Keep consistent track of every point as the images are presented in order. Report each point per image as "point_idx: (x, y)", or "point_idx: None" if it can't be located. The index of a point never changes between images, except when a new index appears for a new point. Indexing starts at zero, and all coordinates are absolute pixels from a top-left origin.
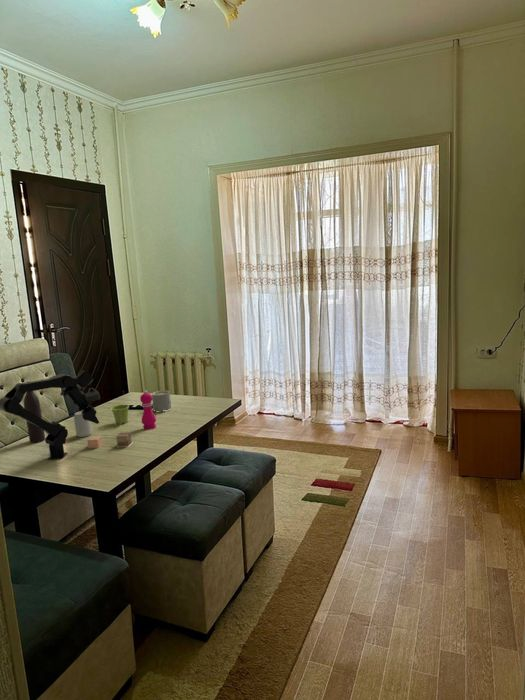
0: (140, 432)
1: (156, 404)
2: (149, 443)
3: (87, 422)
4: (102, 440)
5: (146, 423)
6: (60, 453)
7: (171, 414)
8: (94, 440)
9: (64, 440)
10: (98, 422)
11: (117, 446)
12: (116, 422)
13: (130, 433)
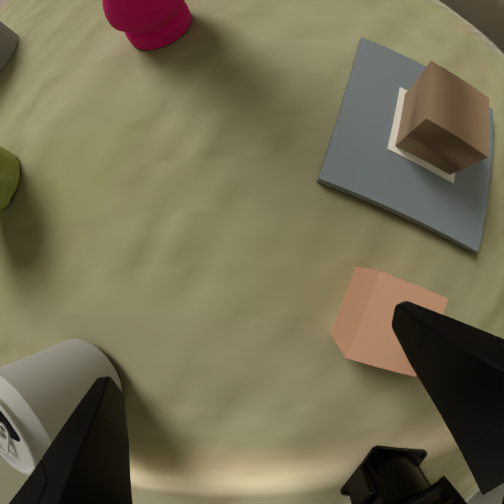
0: (200, 55)
1: None
2: (403, 39)
3: (60, 386)
4: (369, 269)
5: (181, 4)
6: (416, 467)
7: (56, 11)
8: None
9: (451, 486)
10: (411, 310)
11: (446, 176)
12: (4, 204)
13: (436, 68)
